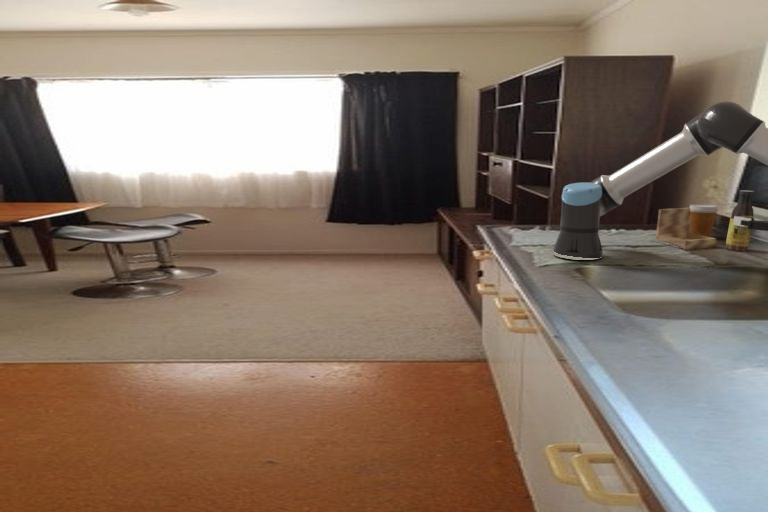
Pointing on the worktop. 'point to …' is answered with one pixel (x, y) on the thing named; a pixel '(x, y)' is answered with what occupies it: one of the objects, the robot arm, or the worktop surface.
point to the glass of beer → (702, 218)
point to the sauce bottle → (739, 234)
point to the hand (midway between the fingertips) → (751, 219)
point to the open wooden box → (680, 230)
